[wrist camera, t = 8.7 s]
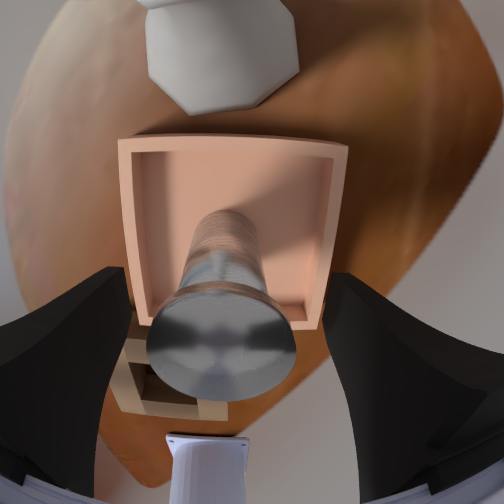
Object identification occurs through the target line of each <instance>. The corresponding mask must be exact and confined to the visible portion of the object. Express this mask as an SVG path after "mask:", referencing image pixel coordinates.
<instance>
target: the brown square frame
mask: <svg viewBox="0 0 504 504" xmlns="http://www.w3.org/2000/svg"><path fill="white" fill-rule="evenodd" d="M150 327H151V326H148V325H140V324H139V319H138V314H137V311H132V318H131V323H130V327H129V331H128V334H127V338H126V341H125V343H124V346H123V348H122V351H121V354H120V356H119V359H118V361H117V364H116V366H115V369H114V371H113V374H112V377H111V379H110V382H109V384H110V387H111V389H112V391H113V394H114V396H115V398H116V400H117V402H118V405H119V407H120V409H121V411H124V412H130V413H137V414H144V415H152V416H160V417H170V418H181V419H195V420H215V421H228V401H210V400H203V399H199V398H195V397H192V396H189V395H187V394H184V393H182V392H180V391H178V390H176V389H174V388H173V387H171V386H170V385H168V384H167V383H166V382H164V381H163V380H162V379H161V378H160V377H159V376H158V375H153V374H147V371H146V367H145V364H150V363H149V360H148V357H147V353H146V341H147V337H148V333H149V330H150Z"/></svg>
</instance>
